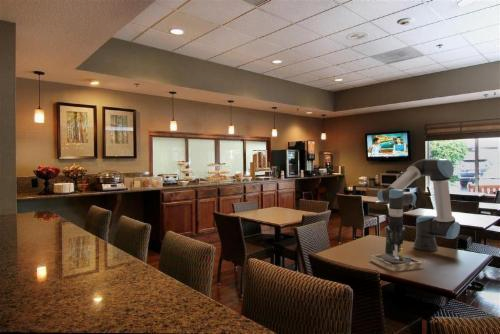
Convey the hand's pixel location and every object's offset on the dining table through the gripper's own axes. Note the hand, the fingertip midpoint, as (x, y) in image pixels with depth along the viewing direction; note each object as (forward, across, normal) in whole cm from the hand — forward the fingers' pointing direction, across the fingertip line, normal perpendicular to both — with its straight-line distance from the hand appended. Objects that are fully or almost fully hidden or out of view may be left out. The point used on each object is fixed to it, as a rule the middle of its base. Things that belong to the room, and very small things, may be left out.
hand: (395, 255), depth 189 cm
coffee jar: (+7, +10, +26) cm, 29 cm away
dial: (+5, +3, +6) cm, 9 cm away
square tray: (+7, +3, +6) cm, 10 cm away
